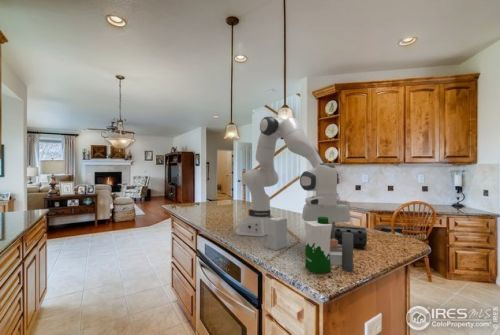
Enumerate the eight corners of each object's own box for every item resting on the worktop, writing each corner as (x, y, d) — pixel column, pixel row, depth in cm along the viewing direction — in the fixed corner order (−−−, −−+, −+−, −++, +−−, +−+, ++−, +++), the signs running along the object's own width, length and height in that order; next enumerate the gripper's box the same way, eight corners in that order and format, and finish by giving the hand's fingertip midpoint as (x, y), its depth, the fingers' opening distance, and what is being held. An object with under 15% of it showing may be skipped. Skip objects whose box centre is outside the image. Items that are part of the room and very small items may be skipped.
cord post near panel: (327, 251, 112) (327, 222, 112) (324, 249, 116) (325, 220, 116) (335, 252, 112) (336, 222, 112) (333, 249, 116) (333, 220, 116)
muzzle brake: (366, 251, 114) (367, 229, 114) (307, 245, 122) (307, 225, 122) (363, 245, 123) (363, 225, 123) (308, 240, 131) (308, 221, 131)
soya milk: (334, 273, 89) (334, 219, 89) (312, 275, 87) (312, 220, 87) (322, 264, 97) (322, 215, 97) (301, 265, 95) (302, 216, 95)
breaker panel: (324, 264, 97) (324, 250, 97) (316, 252, 111) (316, 240, 111) (351, 265, 96) (352, 251, 96) (340, 253, 110) (340, 241, 110)
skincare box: (278, 244, 122) (278, 215, 122) (287, 247, 117) (287, 217, 118) (266, 248, 116) (267, 217, 117) (275, 251, 112) (276, 219, 112)
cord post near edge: (344, 271, 90) (344, 234, 90) (340, 267, 94) (340, 232, 94) (354, 271, 90) (354, 235, 90) (350, 267, 94) (350, 232, 94)
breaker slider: (330, 250, 102) (331, 240, 102) (328, 247, 105) (328, 238, 105) (337, 250, 101) (338, 240, 102) (335, 247, 104) (335, 238, 105)
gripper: (347, 199, 107) (346, 230, 107) (301, 198, 107) (301, 229, 107) (353, 201, 100) (352, 234, 100) (304, 200, 101) (304, 232, 101)
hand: (325, 231), depth 104 cm, fingers closed
